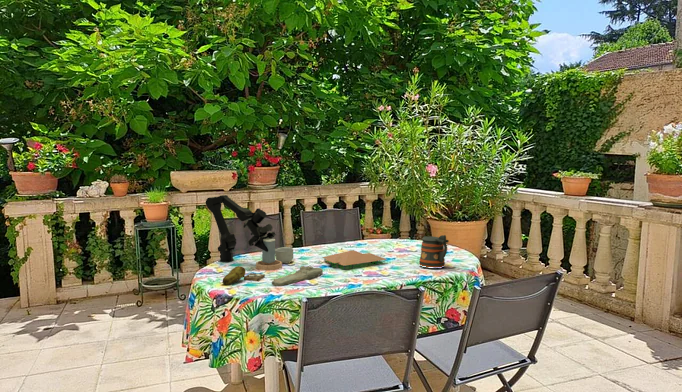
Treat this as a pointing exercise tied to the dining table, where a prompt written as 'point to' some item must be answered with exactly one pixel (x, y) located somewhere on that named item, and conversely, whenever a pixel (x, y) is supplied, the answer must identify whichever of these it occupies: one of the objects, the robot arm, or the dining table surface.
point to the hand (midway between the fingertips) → (270, 250)
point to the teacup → (284, 254)
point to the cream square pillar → (269, 251)
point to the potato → (234, 275)
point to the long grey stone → (298, 276)
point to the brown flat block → (352, 259)
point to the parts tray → (254, 278)
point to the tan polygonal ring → (269, 265)
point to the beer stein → (433, 251)
